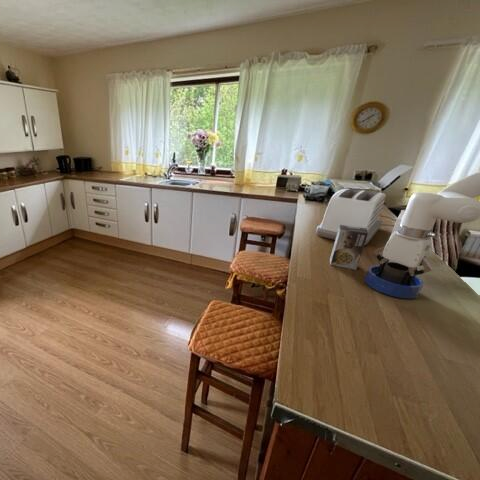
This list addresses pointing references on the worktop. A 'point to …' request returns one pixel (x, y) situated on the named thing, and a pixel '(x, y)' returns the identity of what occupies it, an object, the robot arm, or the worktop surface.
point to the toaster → (352, 212)
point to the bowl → (392, 285)
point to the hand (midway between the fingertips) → (393, 278)
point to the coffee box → (348, 246)
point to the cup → (394, 272)
